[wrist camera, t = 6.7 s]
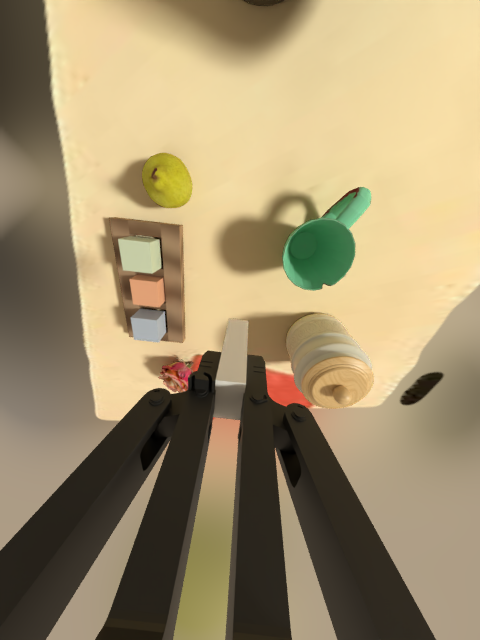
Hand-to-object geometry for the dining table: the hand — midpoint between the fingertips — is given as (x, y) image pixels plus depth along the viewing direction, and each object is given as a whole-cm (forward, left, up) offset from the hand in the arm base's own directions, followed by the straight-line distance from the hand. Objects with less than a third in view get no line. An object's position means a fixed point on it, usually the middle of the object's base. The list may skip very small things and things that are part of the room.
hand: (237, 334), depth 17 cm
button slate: (+14, -18, -24) cm, 33 cm away
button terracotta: (+7, -18, -26) cm, 32 cm away
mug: (-6, +11, -27) cm, 29 cm away
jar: (+15, +17, -27) cm, 35 cm away
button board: (+7, -18, -26) cm, 33 cm away
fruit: (-11, -13, -27) cm, 32 cm away
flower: (+28, -13, -27) cm, 41 cm away
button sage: (0, -18, -24) cm, 30 cm away
